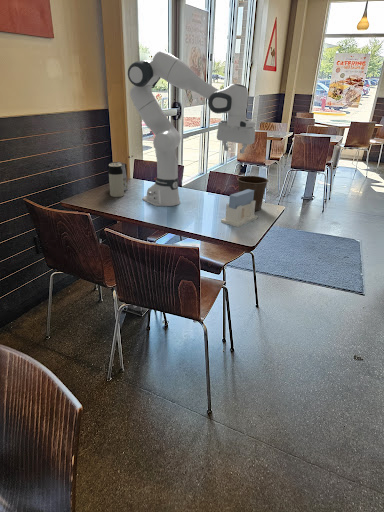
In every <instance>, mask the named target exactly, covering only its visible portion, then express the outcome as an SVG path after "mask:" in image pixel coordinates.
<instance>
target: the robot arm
mask: <svg viewBox="0 0 384 512" xmlns="http://www.w3.org/2000/svg"><path fill="white" fill-rule="evenodd" d="M127 78H128V80H129V81H130V84H132V85H133V86H132V87H131V88H130V91H129V96H130V100H131V101H132V103H133V106H134V107H135V109H136V111H137V113H138V115H139V116H140V118H141V119H142V121H143V122H144V124H145V126H146V127H147V128H148V129H149V130H150V131H151V132H152V134H153V135H155V136H154V138H153V140H152V142H153V147H154V150H155V151H154V152H155V157H156V165H157V166H156V168H157V170H156V173H157V176H156V177H155V178H153V181H154V184H152V185H151V186H149V187H148V189H147V190H146V195H145V196H143V197H142V200H143V201H145V202H147V203H148V204H151V205H153V206H155V207H163V206H164V207H171V206H177V205H178V206H179V204H181V200H180V194H179V193H180V192H179V181H180V180H179V177H178V176H179V174H178V171H179V170H178V169H179V168H178V166H179V164H178V157H177V148H178V147H179V145H180V143H181V139H182V138H181V134H180V132H179V131H178V130H177V129H176V128H175V126H174V124H173V122H171V120H170V119H169V118H168V117H167V115H166V114H165V113H164V111H163V109H162V107H161V106H160V104H159V103H158V102H159V101H158V100H157V99H156V97H155V96H154V94H153V90H152V89H154V88H155V87H156V86H157V83H158V82H159V81H160V79H163V80H164V81H166V82H167V83H169V84H170V85H172V86H174V87H176V88H178V89H180V90H185V91H191V92H195V93H196V94H198V95H200V96H201V97H203V98H205V99H206V100H207V101H208V102H207V105H208V108H209V110H210V111H211V112H212V113H214V114H226V113H227V120H220V121H219V122H218V125H217V133H216V139H217V141H220V142H221V141H222V145H223V148H224V149H223V151H225V152H226V151H227V152H228V151H229V146H228V144H227V143H228V142H229V143H234V144H235V143H236V144H241V145H242V148H240V149H239V154H242V155H243V154H245V150H246V148H247V146H249V145H253V144H254V143H255V142H256V141H255V140H256V130H255V126H256V123H255V121H253V120H251V119H249V118H247V108H248V101H249V91H248V87H246V86H245V85H243V84H239V83H235V82H234V83H231V84H230V85H229V86H227V87H226V88H224V89H218V88H216V87H214V86H213V85H212V84H210V83H208V82H206V81H205V80H204V79H203V78H201V77H200V76H199V75H198V74H197V73H196V72H195V71H194V70H192V68H191V67H189V66H188V65H187V64H186V63H185V62H183V61H182V60H181V59H180V58H178V57H176V56H174V55H173V54H171V53H169V52H166V51H164V50H161V51H158V52H156V53H155V54H154V56H153V58H152V59H142V60H138V61H135V62H133V63H131V64H130V65H129V67H128V69H127Z"/></svg>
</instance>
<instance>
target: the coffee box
mask: <svg viewBox="0 0 384 512" xmlns="http://www.w3.org/2000/svg"><path fill="white" fill-rule="evenodd" d="M113 163H118V164H122V166H121V168H122V170H123V186H124V191H128V189H129V186H128V168H127V167H128V166H127V163H124V162H121V161H113V162H110V164H113Z"/></svg>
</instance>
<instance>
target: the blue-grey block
mask: <svg viewBox="0 0 384 512" xmlns="http://www.w3.org/2000/svg"><path fill="white" fill-rule="evenodd" d="M253 198H254V190H250V189H247V190H244V191H241V192H239V191H237V192H235V193H231V194H229V201H228V203H229V208H233V209H236V208H237V207H238V206H240V205H241V206H244V205H247V204H249V203H251V201H253Z"/></svg>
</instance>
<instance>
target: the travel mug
mask: <svg viewBox="0 0 384 512" xmlns="http://www.w3.org/2000/svg"><path fill="white" fill-rule="evenodd" d="M121 166H122V164H118V163H113V164H111V163H109V164H108V167H109V168H108V170H107V171H108V182H109V195H110V196H111V197H113V198H121V197H123V196H124V195H125V190H124V186H123V170H122V168H121Z"/></svg>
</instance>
